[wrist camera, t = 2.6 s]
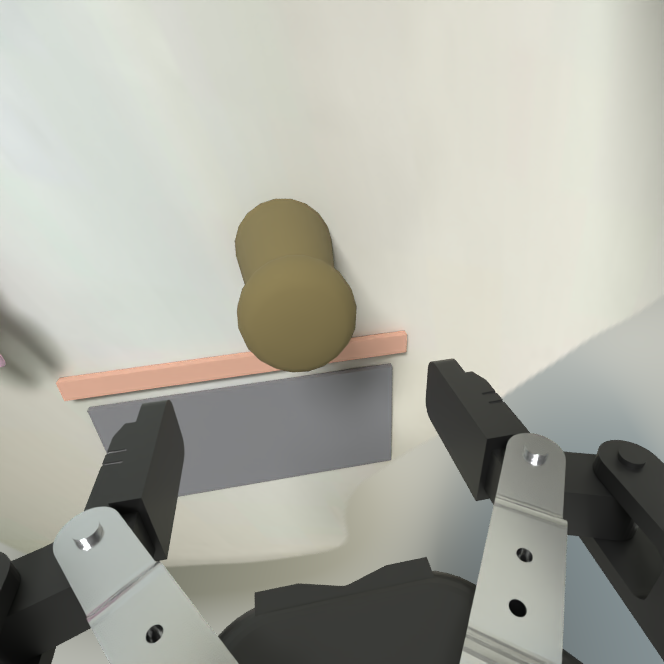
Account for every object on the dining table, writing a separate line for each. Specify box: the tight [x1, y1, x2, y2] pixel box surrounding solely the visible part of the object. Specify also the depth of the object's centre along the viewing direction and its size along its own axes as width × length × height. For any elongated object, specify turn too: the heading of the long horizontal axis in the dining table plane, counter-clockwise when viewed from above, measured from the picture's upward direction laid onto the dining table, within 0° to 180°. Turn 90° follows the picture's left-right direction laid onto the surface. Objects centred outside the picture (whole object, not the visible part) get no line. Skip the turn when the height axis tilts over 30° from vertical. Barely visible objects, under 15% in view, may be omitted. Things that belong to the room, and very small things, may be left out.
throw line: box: [56, 331, 407, 401], centre depth 30 cm, size 24×2×1 cm, turn 94°
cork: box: [235, 199, 356, 372], centre depth 22 cm, size 6×6×11 cm
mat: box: [88, 363, 392, 496], centre depth 33 cm, size 22×10×1 cm, turn 94°
